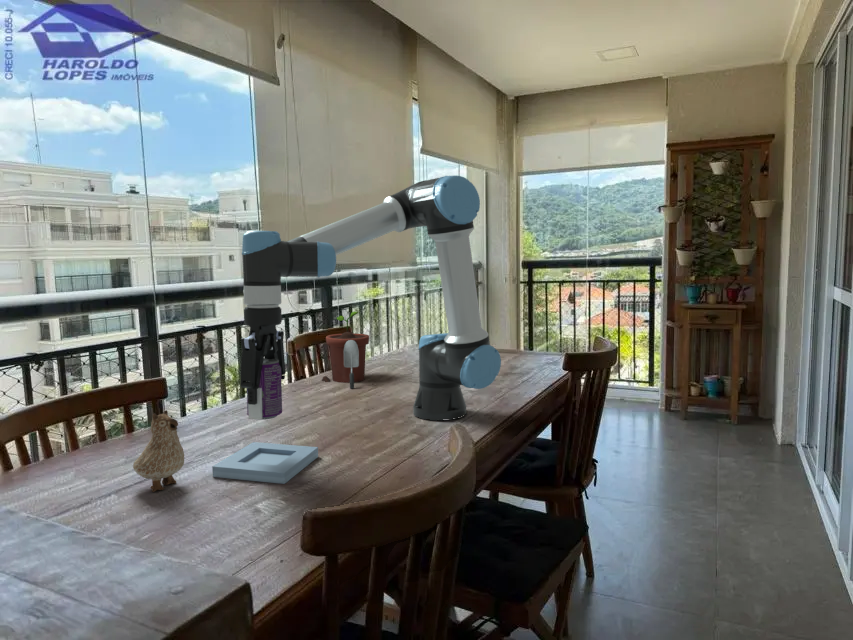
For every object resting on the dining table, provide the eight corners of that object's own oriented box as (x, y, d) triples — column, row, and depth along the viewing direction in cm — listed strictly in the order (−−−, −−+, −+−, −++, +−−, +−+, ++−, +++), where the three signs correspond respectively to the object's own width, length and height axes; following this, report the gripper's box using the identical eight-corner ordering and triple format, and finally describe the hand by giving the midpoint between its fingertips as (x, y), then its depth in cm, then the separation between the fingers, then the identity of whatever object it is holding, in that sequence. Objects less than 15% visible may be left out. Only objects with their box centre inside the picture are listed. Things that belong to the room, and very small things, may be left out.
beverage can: (251, 412, 125) (250, 357, 124) (284, 411, 126) (283, 357, 125) (243, 421, 118) (242, 363, 117) (279, 420, 119) (278, 363, 118)
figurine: (167, 498, 107) (163, 419, 106) (121, 494, 109) (116, 417, 107) (195, 479, 116) (192, 407, 115) (152, 476, 118) (148, 404, 116)
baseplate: (318, 456, 129) (318, 447, 129) (284, 483, 114) (284, 473, 114) (253, 451, 133) (253, 441, 133) (212, 476, 118) (212, 466, 117)
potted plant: (381, 377, 215) (380, 310, 212) (352, 389, 195) (351, 315, 193) (340, 373, 222) (338, 308, 219) (308, 385, 202) (306, 314, 199)
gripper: (270, 302, 130) (272, 401, 133) (218, 309, 111) (221, 425, 113) (300, 303, 129) (302, 404, 131) (253, 310, 109) (256, 428, 112)
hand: (265, 414), depth 122 cm, fingers closed on beverage can, 7 cm apart
